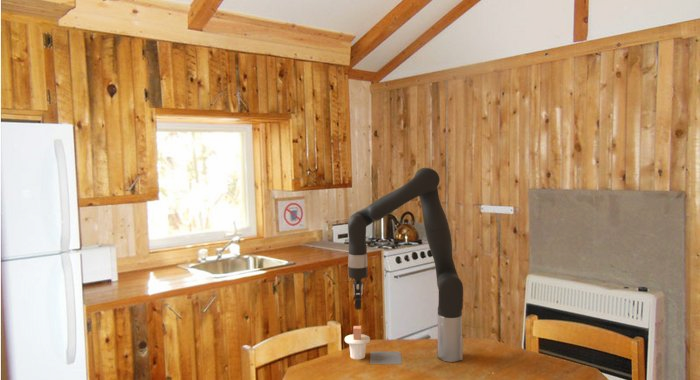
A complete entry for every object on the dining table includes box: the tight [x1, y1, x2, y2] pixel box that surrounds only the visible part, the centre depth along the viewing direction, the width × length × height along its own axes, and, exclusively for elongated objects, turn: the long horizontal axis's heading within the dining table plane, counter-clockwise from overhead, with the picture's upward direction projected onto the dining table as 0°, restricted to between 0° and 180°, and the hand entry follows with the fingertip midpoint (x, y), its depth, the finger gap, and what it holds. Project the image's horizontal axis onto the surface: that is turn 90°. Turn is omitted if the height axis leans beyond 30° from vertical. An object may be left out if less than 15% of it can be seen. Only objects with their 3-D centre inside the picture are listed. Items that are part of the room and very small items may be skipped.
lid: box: [344, 325, 371, 345], centre depth 198 cm, size 10×10×5 cm
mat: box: [369, 351, 403, 365], centre depth 197 cm, size 12×12×1 cm
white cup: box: [348, 344, 367, 360], centre depth 198 cm, size 7×7×7 cm
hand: (358, 305), depth 198 cm, fingers open, 8 cm apart
